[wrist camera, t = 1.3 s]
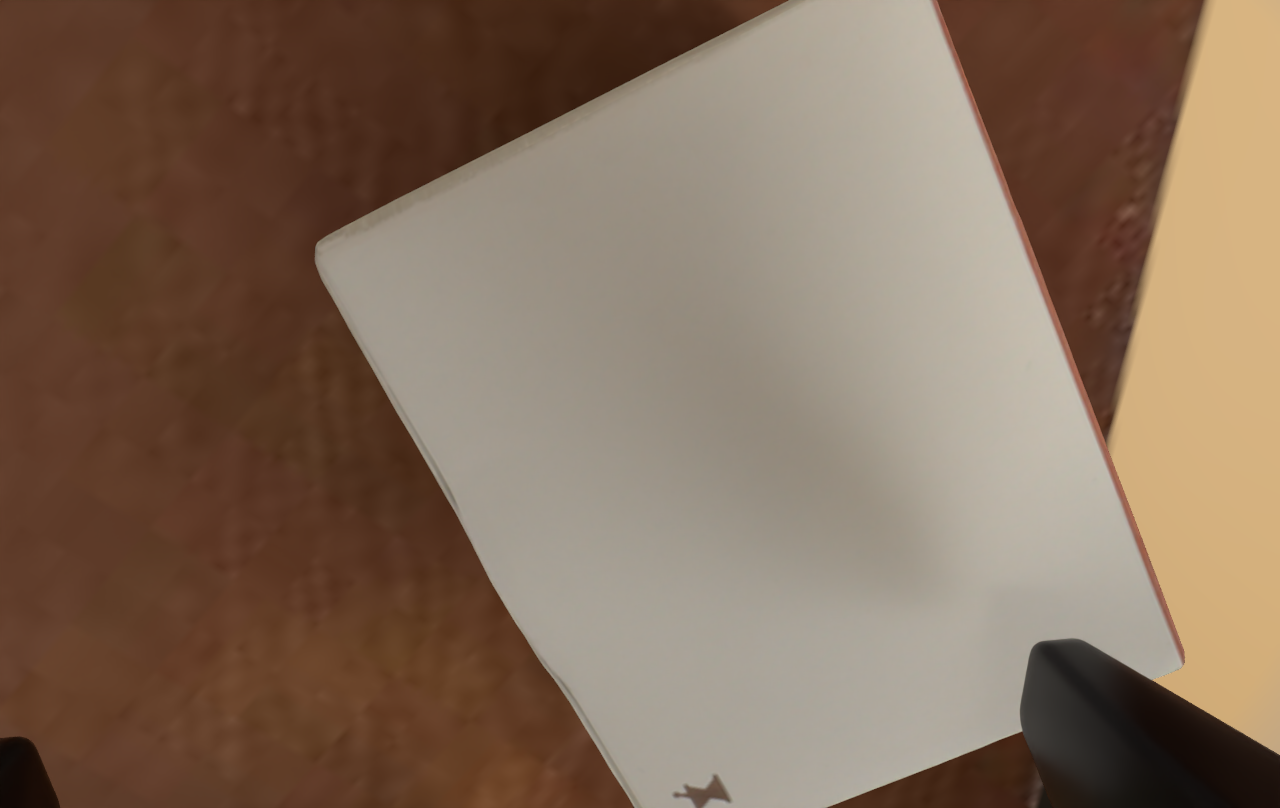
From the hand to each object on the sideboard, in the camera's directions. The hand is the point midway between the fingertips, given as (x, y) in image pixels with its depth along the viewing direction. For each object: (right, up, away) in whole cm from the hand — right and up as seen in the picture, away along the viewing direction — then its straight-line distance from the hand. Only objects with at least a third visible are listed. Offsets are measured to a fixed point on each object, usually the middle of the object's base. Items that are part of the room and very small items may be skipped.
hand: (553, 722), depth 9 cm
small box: (+2, +6, +13) cm, 15 cm away
